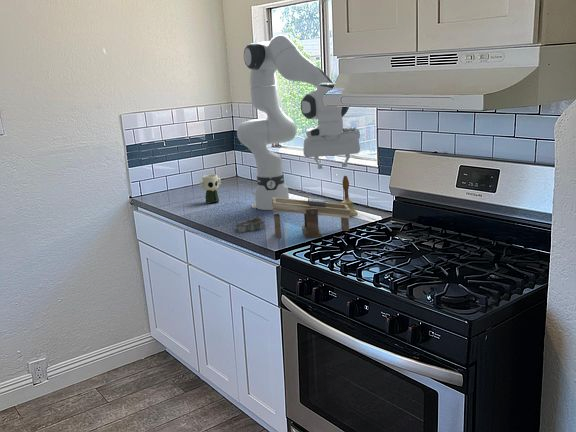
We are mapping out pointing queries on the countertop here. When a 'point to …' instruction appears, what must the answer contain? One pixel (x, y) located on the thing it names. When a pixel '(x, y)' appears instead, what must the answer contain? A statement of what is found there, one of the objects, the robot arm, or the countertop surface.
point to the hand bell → (347, 201)
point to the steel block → (316, 202)
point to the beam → (301, 207)
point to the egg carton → (250, 224)
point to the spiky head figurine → (210, 187)
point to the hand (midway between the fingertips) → (332, 167)
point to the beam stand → (309, 224)
